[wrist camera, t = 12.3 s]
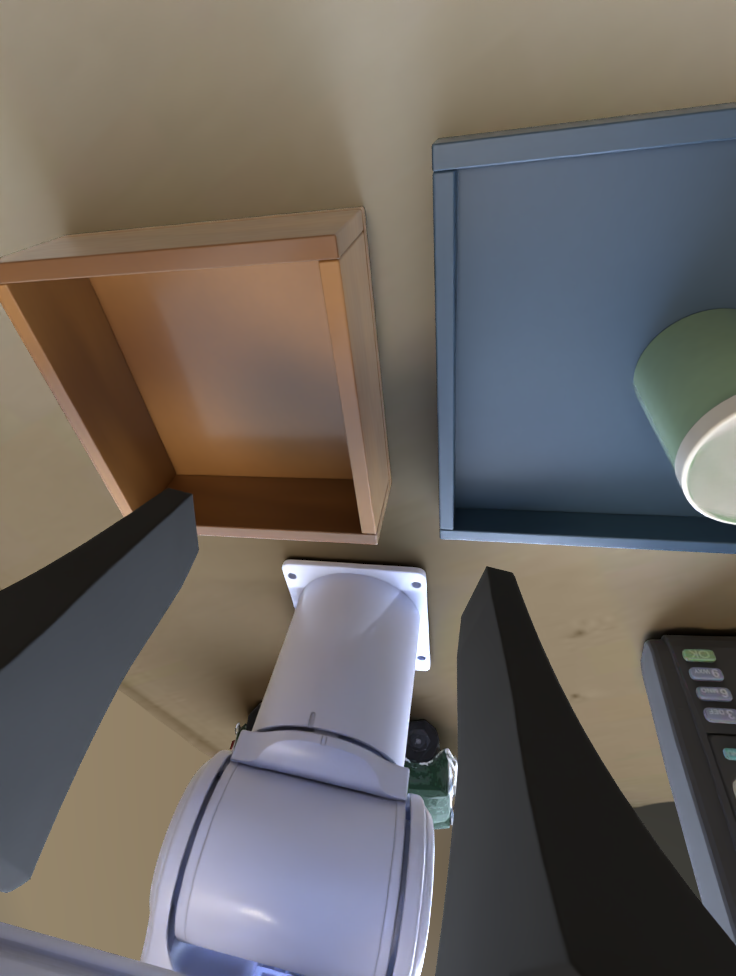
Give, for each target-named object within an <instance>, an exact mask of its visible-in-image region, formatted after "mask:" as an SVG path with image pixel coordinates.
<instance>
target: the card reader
mask: <svg viewBox="0 0 736 976" xmlns="http://www.w3.org/2000/svg"><path fill="white" fill-rule="evenodd" d="M641 668H642V675H643V679H644V683H645V687H646V691H647V695H648V699H649V703H650V707H651V711H652V716H653V720H654V724H655V728H656V732H657V736H658V740H659V744H660V748H661V752H662V756H663V760H664V764H665V768H666V772H667V775H668V779H669V783H670V786H671V790H672V794H673V797H674V801H675V805H676V808H677V812H678V815H679V819H680V823H681V826H682V830H683V834H684V837H685V841H686V845H687V849H688V852H689V856H690V859H691V863H692V867H693V871H694V874H695V878H696V882H697V885H698V889H699V893H700V896H701V900H702V904H703V905H704V907H705V908H706V909H707V910H708V912H709V913H710V914H711V915H712V916H713V918H714V919H715V920H716V921H717V923H718V924H719V925H720V926H721V928H722V929H723V930H724V931H725V932H726V934H727V935H728V936H729V937H730V939H731V940H732V941H733V942H734V944H735V945H736V637H731V636H684V635H663V636H662V637H661V640H654V639H651V640H647V641H646V642H645V643H644V648H643V653H642V657H641Z"/></svg>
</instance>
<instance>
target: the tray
mask: <svg viewBox="0 0 736 976" xmlns="http://www.w3.org/2000/svg"><path fill="white" fill-rule="evenodd" d="M432 170H433V171H434V172H433V175H432V176H433V225H434V274H435V323H436V372H437V421H438V470H439V519H440V539H451V540H470V541H490V542H510V543H530V544H550V545H569V546H589V547H609V548H629V549H648V550H668V551H688V552H708V553H727V554H736V525H734V524H728V523H724V522H720V521H717V520H714V519H712V518H709V517H707V516H705V515H704V514H702V513H700V512H699V511H698V510H696V509H695V508H694V507H693V506H692V505H691V504H690V503H689V502H688V500H687V499H686V497H685V495H684V493H683V491H682V489H681V487H680V485H679V483H678V481H677V478H676V474H675V471H674V469H673V467H672V465H671V463H670V461H669V459H668V457H667V455H666V454H665V452H664V450H663V448H662V446H661V444H660V442H659V440H658V438H657V436H656V434H655V432H654V430H653V428H652V426H651V424H650V422H649V421H648V419H647V417H646V415H645V413H644V411H643V409H642V407H641V405H640V403H639V401H638V399H637V397H636V395H635V392H634V386H633V378H634V372H635V368H636V365H637V363H638V361H639V359H640V357H641V355H642V353H643V352H644V350H645V349H646V347H647V346H648V345H649V344H650V343H651V341H652V340H653V339H654V338H655V337H656V336H657V335H659V334H660V333H661V332H662V331H663V330H665V329H666V328H668V327H669V326H671V325H672V324H674V323H675V322H677V321H679V320H681V319H683V318H685V317H688V316H690V315H692V314H696V313H699V312H702V311H707V310H712V309H722V308H723V309H736V102H733V103H725V104H716V105H708V106H700V107H692V108H684V109H676V110H667V111H659V112H651V113H643V114H635V115H627V116H618V117H610V118H602V119H594V120H586V121H578V122H569V123H561V124H553V125H545V126H537V127H529V128H520V129H512V130H504V131H496V132H488V133H480V134H471V135H463V136H455V137H447V138H439V139H437V140H436V141H435V142H434V143H433V144H432Z"/></svg>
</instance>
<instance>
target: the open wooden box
mask: <svg viewBox="0 0 736 976" xmlns="http://www.w3.org/2000/svg"><path fill="white" fill-rule="evenodd" d="M0 303H1V304H2V306H3V308H4V310H5V311H6V313H7V315H8V316H9V318H10V320H11V322H12V323H13V325H14V327H15V329H16V330H17V332H18V334H19V336H20V337H21V339H22V341H23V343H24V344H25V346H26V348H27V349H28V351H29V353H30V355H31V356H32V358H33V360H34V362H35V363H36V365H37V367H38V369H39V370H40V372H41V374H42V376H43V377H44V379H45V381H46V383H47V384H48V386H49V388H50V389H51V391H52V393H53V395H54V396H55V398H56V400H57V402H58V403H59V405H60V407H61V409H62V410H63V412H64V414H65V416H66V417H67V419H68V421H69V422H70V424H71V426H72V428H73V429H74V431H75V433H76V435H77V436H78V438H79V440H80V442H81V443H82V445H83V447H84V449H85V450H86V452H87V454H88V455H89V457H90V459H91V461H92V462H93V464H94V466H95V468H96V469H97V471H98V473H99V475H100V476H101V478H102V480H103V482H104V483H105V485H106V487H107V488H108V490H109V492H110V494H111V495H112V497H113V499H114V501H115V502H116V504H117V506H118V508H119V509H120V511H121V513H122V515H123V516H124V517H125V516H127V515H128V514H130V513H131V512H133V511H134V510H136V509H137V508H139V507H140V506H142V505H143V504H145V503H146V502H148V501H149V500H151V499H152V498H153V497H155V496H156V495H158V494H160V493H161V492H163V491H164V490H166V489H167V488H171V489H175V490H179V491H183V492H187V493H191V494H193V503H194V512H195V521H196V529H197V535H208V536H226V537H245V538H263V539H281V540H300V541H318V542H336V543H355V544H373V545H377V544H378V540H379V536H380V532H381V527H382V523H383V518H384V514H385V510H386V505H387V501H388V496H389V492H390V488H391V484H392V482H391V472H390V462H389V451H388V441H387V431H386V421H385V411H384V401H383V391H382V381H381V370H380V360H379V350H378V340H377V330H376V320H375V310H374V299H373V289H372V279H371V269H370V259H369V249H368V239H367V229H366V218H365V209H364V207H352V208H342V209H331V210H321V211H310V212H300V213H290V214H279V215H269V216H258V217H248V218H238V219H227V220H217V221H207V222H196V223H186V224H175V225H165V226H155V227H144V228H134V229H123V230H113V231H103V232H92V233H82V234H71V235H64V236H61V237H59V238H55V239H53V240H50V241H47V242H44V243H41V244H38V245H35V246H32V247H29V248H26V249H23V250H20V251H17V252H14V253H11V254H8V255H5V256H2V257H0Z"/></svg>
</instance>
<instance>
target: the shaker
mask: <svg viewBox="0 0 736 976" xmlns="http://www.w3.org/2000/svg"><path fill="white" fill-rule="evenodd" d="M633 386H634V392H635V395H636V397H637V399H638V401H639V403H640V405H641V407H642V409H643V411H644V413H645V415H646V417H647V419H648V421H649V422H650V424H651V426H652V428H653V430H654V432H655V434H656V436H657V438H658V440H659V442H660V444H661V446H662V448H663V450H664V452H665V454H666V455H667V457H668V459H669V461H670V463H671V465H672V467H673V469H674V471H675V474H676V478H677V481H678V483H679V485H680V487H681V489H682V491H683V493H684V495H685V497H686V499H687V500H688V502H689V503H690V504H691V505H692V506H693V507H694V508H695V509H696V510H698V511H699V512H700V513H702V514H704V515H705V516H707V517H709V518H712V519H714V520H717V521H720V522H724V523H728V524H734V525H736V309H723V308H722V309H712V310H707V311H702V312H699V313H696V314H692V315H690V316H688V317H685V318H683V319H681V320H679V321H677V322H675V323H674V324H672V325H671V326H669V327H668V328H666V329H665V330H663V331H662V332H661V333H660V334H659V335H657V336H656V337H655V338H654V339H653V340H652V341H651V343H650V344H649V345H648V346H647V347H646V349H645V350H644V352H643V353H642V355H641V357H640V359H639V361H638V363H637V365H636V368H635V372H634V378H633Z"/></svg>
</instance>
